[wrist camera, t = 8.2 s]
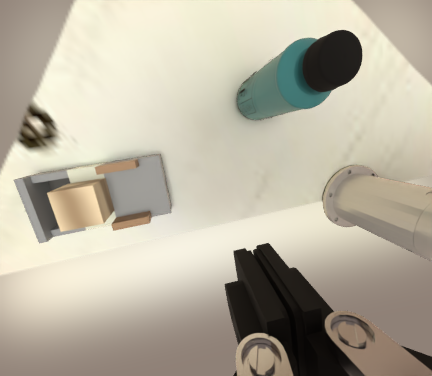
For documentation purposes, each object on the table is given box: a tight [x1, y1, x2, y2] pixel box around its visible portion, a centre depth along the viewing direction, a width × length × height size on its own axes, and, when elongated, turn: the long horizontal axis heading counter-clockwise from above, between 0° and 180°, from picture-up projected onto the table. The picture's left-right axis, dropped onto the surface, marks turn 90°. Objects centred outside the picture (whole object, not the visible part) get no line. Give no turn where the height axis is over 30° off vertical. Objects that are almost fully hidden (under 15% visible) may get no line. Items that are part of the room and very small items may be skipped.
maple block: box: [47, 178, 115, 232], centre depth 28 cm, size 5×5×5 cm
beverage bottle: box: [237, 30, 362, 120], centre depth 25 cm, size 6×7×20 cm
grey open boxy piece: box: [14, 154, 171, 243], centre depth 31 cm, size 18×9×6 cm, turn 98°
